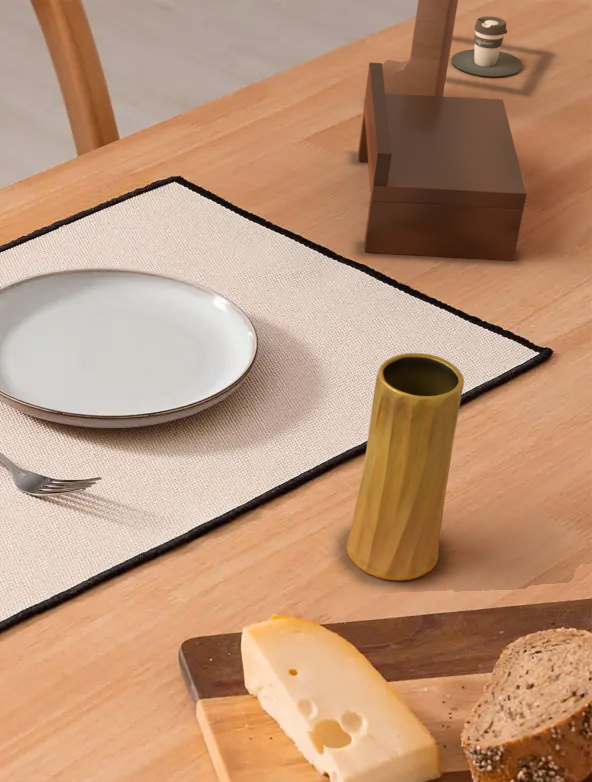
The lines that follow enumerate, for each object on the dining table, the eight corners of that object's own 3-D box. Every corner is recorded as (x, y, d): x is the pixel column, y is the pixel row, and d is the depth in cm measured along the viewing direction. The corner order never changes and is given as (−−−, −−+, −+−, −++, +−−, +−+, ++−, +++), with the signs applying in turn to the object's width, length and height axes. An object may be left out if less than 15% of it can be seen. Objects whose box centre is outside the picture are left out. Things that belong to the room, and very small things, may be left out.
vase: (330, 560, 104) (354, 382, 95) (370, 514, 108) (396, 338, 99) (414, 594, 101) (447, 413, 93) (452, 544, 105) (486, 367, 97)
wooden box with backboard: (491, 162, 152) (508, 68, 146) (513, 261, 137) (533, 161, 131) (357, 155, 153) (369, 62, 147) (364, 252, 138) (377, 153, 132)
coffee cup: (549, 54, 174) (557, 10, 171) (526, 93, 165) (535, 48, 162) (443, 37, 178) (450, -7, 175) (416, 74, 169) (422, 29, 166)
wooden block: (442, 104, 163) (464, -40, 154) (432, 116, 161) (455, -30, 151) (382, 92, 165) (401, -50, 156) (372, 103, 163) (390, -40, 154)
